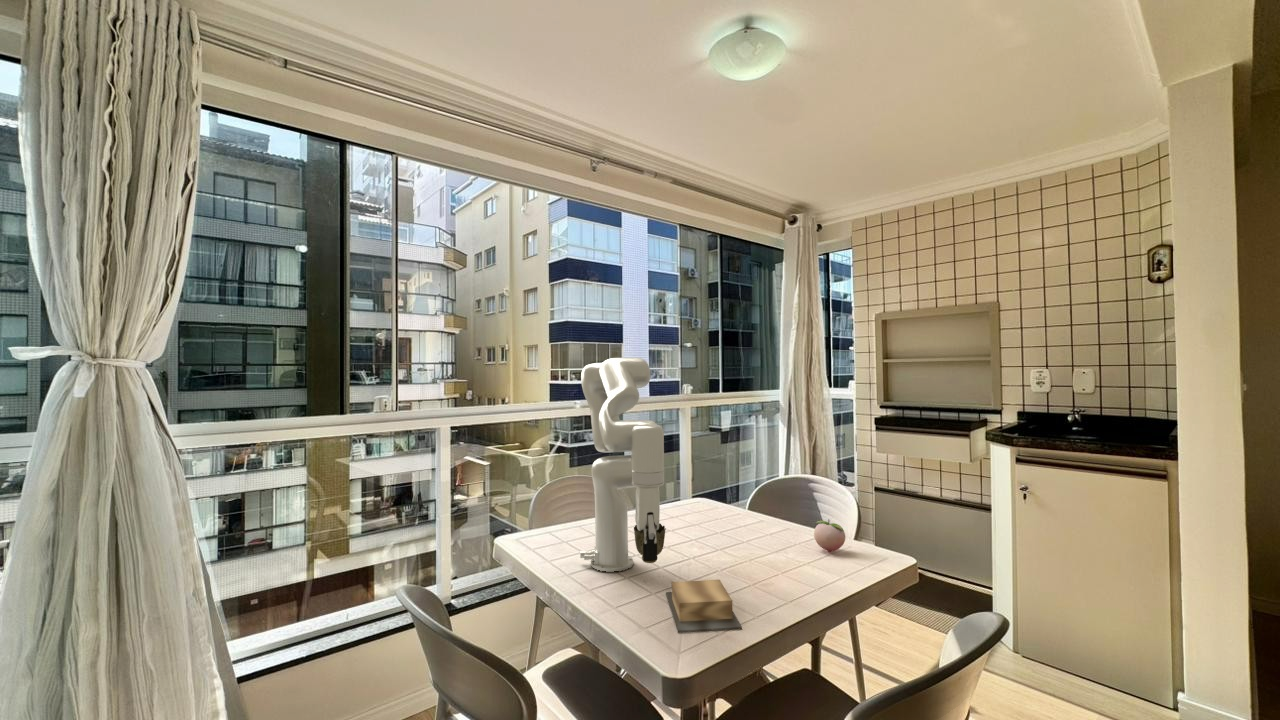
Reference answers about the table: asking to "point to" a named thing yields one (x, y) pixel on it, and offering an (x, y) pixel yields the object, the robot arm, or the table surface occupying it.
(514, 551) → the table surface
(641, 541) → the cup
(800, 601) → the table surface
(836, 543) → the decorative fruit
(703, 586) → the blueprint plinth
